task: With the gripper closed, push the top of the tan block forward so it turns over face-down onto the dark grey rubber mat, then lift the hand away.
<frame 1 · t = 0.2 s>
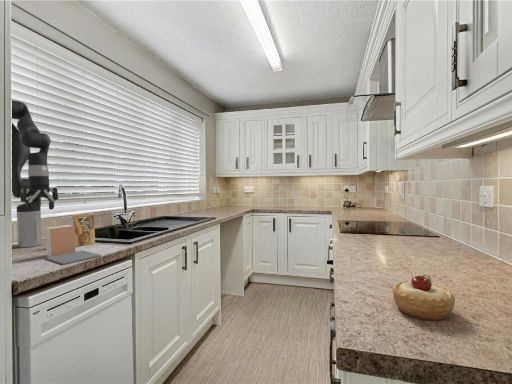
hand: (41, 210, 131), 18 cm above the worktop, tool pointing down, fingers open, 8 cm apart
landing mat: (73, 257, 115), on the worktop
pastry: (422, 311, 64), on the worktop
candy box: (84, 245, 140), on the worktop
tan block: (61, 254, 121), on the worktop
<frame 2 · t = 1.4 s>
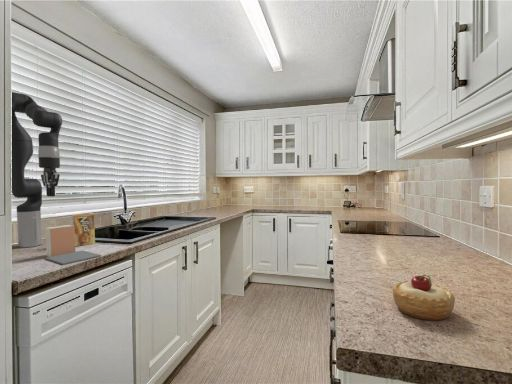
hand: (50, 196, 124), 25 cm above the worktop, tool pointing down, fingers closed
nothing on the worktop moved.
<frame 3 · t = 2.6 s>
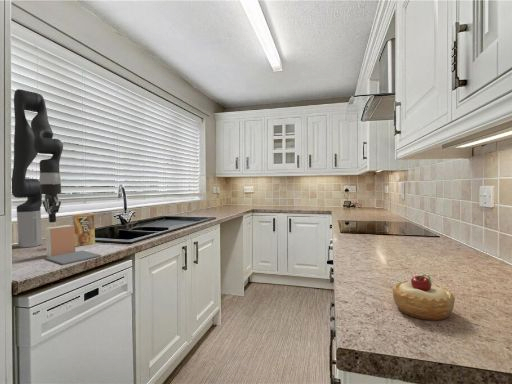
hand: (52, 222, 125), 13 cm above the worktop, tool pointing down, fingers closed
nothing on the worktop moved.
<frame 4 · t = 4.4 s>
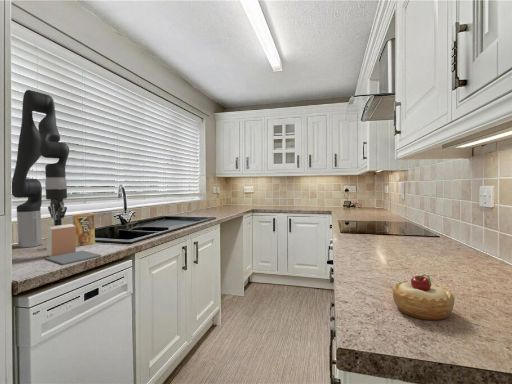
hand: (58, 228, 122), 11 cm above the worktop, tool pointing down, fingers closed
tan block: (61, 253, 121), on the worktop, tilted 8°
everything else where it was.
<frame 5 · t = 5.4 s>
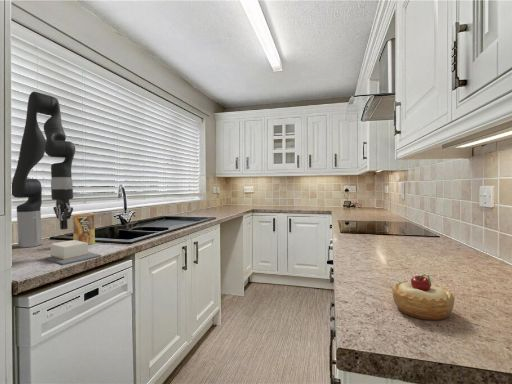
hand: (63, 229, 119), 11 cm above the worktop, tool pointing down, fingers closed
tan block: (62, 247, 120), point 3 cm above the worktop, tilted 90°, touching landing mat
everything else where it was.
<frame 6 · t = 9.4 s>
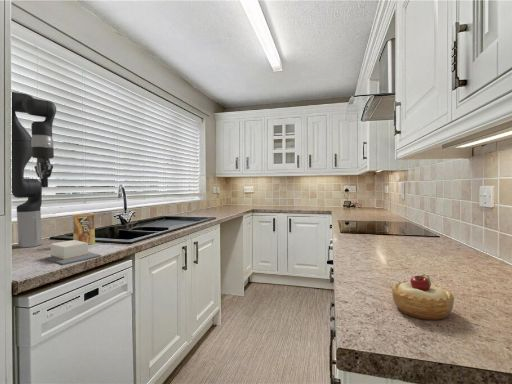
hand: (44, 187, 121), 29 cm above the worktop, tool pointing down, fingers closed
nothing on the worktop moved.
at the end: tan block tilted 90°; tan block touching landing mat; the gripper is holding nothing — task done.
